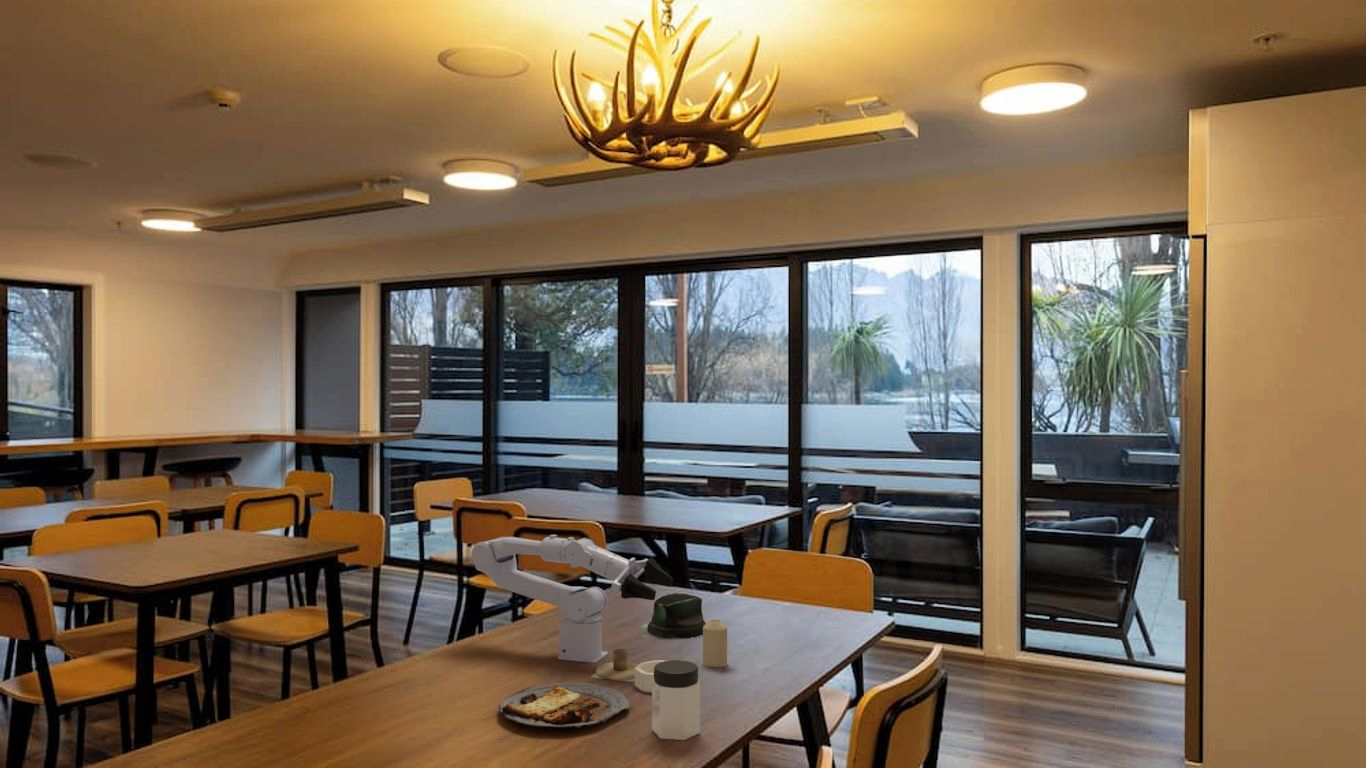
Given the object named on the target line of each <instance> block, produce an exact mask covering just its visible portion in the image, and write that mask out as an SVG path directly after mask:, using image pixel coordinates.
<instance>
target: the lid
mask: <svg viewBox="0 0 1366 768" xmlns="http://www.w3.org/2000/svg"><path fill="white" fill-rule="evenodd" d="M612 651H613V652H612V654H613V659H612V660H613V661H611V662H607V663H603V664H600V665H598V666H597V668H595V669H596V671H595V673H596V674H597V675H598V676H599V677H601V678H604V679H603V680H609V681H611V680H612V681H619V680H628V679H633V678H635V667H636V666H638V665H639V664H640V663H636V662H631V661H630V662H629V661H628V650H627V649H625V648H616V649H613V650H612Z"/></svg>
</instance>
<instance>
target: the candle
mask: <svg viewBox="0 0 1366 768" xmlns="http://www.w3.org/2000/svg"><path fill="white" fill-rule="evenodd" d="M705 623H706V624H705V625H704V626H703V635H702V664H703V666H705V667H711V668H720V667H721V668H722V667H723V668H725V667H727V666H728V626H726V625H725V623H723V622H722V621H721V620H720V619H711V620H707V622H705Z"/></svg>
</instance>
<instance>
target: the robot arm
mask: <svg viewBox="0 0 1366 768" xmlns="http://www.w3.org/2000/svg"><path fill="white" fill-rule="evenodd" d="M516 555H533V556H540V558H541V559H542V561H544V562H549V563H550V562H552V563H559V564H570V565H569V567H570V568H579V567H582V568H584V569H586V570H588V571H590V572H593V573H594V574H597V575H599V576H601V577H603V578H606V579H608V580H610V581H612V583H611V587H610V591H612V592H615V593H616V594H620V592H621V594H620V597H621V598H622V599H624V600H626V599H643V600H647V601H656V595H657V594H656V593H657V591H656V590H655V589H654V588H652V587H650V586H649V585H647V584H644V583H654V584H658V585H661V586H665V587H668V588H671V587H672V586H673V583H674V582H673V581H674V578H673V577H672V576H671V575H670V574H669V573H667V572H666V571H665V570H664V569H663V568H662V567H661V566H660V565H659V564H658V563H657V561H656V559H655V558H652V557H650V558H649V559H648V558H645V559H642V560H636V559H637V558H635V557H631V558H629V559H627V558H625V557H623V556H621V555H619V554H616V553H614V552H611V551H609V550H607V549H605V548H602V547H600V546H597V545H596V543H595V542H594V541H593V540H592V539H590V538H587V537H582V538H579V539H577V540H576V539H575V537H573V536H570V537H567V538H563V537H558V535H557V534H550V535H549V536H547V537H545V538H543V539H542V540H541V541H540V540H534V539H528V538H523V537H516V536H500V537H496V538H494V539H489V540H486V541H479V542H477V543H475V544H474V545H473V547H472V549H471V560H472V562H473V565H474V567H475V570H476V571H479V572H481V573H483V574H485V575H486V576H487V578H489V579H490V580H491V581H492V582H493V583H494V584H495V585H496V586H497V587H498V588H500V589H504V590H507V591H509V592H512V593H516V594H518V595H521V596H524V597H527V598H531V599H532V600H533V599H534V600H537V601H540V602H543V603H545V604H548V605H549V604H550V605H552V606H556V607H558V610H559V613H561V614H564V615H566V616H567V617H565V618H563V619H562V621H561V623H560V626H559V631H558V632H559V634H558V635H559V637H558V639H559V640H558V644H559V645H558V647H559V652H558V653H559V654H558V656H557V659H558V660H564V661H575V662H584V663H585V662H586V663H597V662H599V661H600V660H601V659H602V658H604V657H605V656H606V655H609V652H608V651H605V650H604V651H603V647H602V644H603V642H602V641H603V640H602V639H603V636H602V634H603V632H602V631H603V629H602V627H603V612H604V611H605V610H606V608H607V606H608V597H607V593H606V591H604V590H603V589H602V588H600V587H598V586H591V587H585V586H570V585H567V584H563V583H561V582H557V581H553V580H550V579H547V578H545V577H541V576H538V575H534V574H531V573H528V572H525V571H522V570H518V564H517V558H516ZM642 574H643V576H645V577H644V583H643V582H642V581H641V580H639V579H638V578H639V577H640V576H641V575H642Z"/></svg>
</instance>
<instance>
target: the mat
mask: <svg viewBox="0 0 1366 768" xmlns="http://www.w3.org/2000/svg"><path fill="white" fill-rule="evenodd" d="M590 678H592V679H593V678H594V679H603V680H605V679H604V678H601V677H599V676H598V675H597V674H596V672H595V673H593V674H592V675H591V676H590ZM618 681H620V682H621V681H622V682H627V683H628V682H630V683H635V678H633V679H628V680H618Z"/></svg>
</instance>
